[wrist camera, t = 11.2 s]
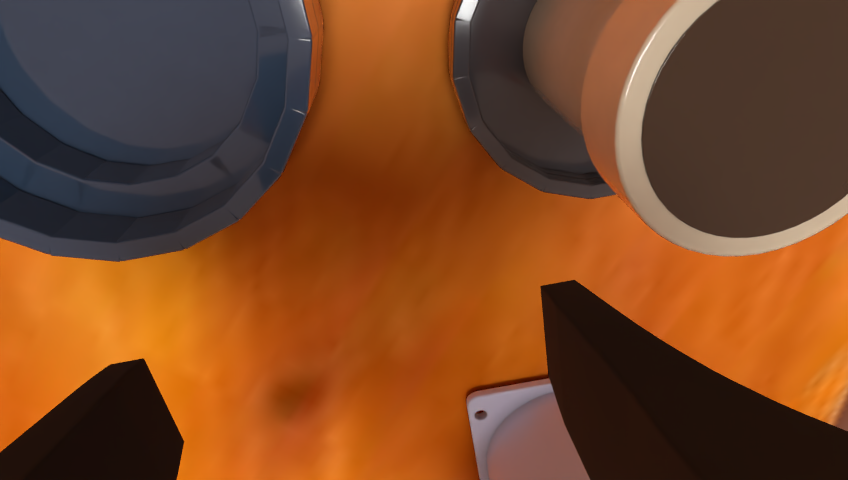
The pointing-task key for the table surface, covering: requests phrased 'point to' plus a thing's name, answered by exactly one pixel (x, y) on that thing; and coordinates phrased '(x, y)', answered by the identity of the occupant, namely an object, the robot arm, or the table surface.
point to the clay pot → (705, 111)
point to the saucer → (514, 101)
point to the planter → (147, 118)
